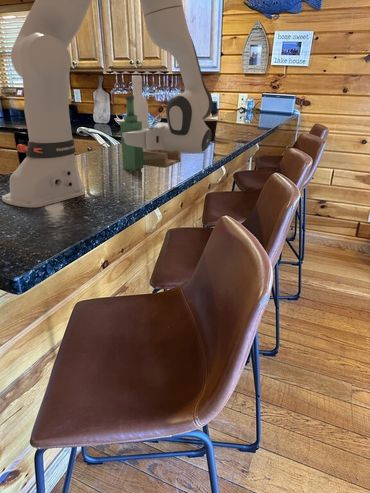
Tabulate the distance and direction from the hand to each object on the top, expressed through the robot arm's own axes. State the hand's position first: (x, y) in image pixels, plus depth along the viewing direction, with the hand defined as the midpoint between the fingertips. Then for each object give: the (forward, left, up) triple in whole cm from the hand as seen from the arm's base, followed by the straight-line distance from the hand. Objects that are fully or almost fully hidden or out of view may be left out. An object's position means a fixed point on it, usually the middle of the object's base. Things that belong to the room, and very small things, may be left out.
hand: (129, 133), depth 124 cm
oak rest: (+12, -5, -12) cm, 18 cm away
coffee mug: (+71, +2, -12) cm, 72 cm away
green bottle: (0, -1, -12) cm, 12 cm away
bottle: (+19, +9, -12) cm, 24 cm away
